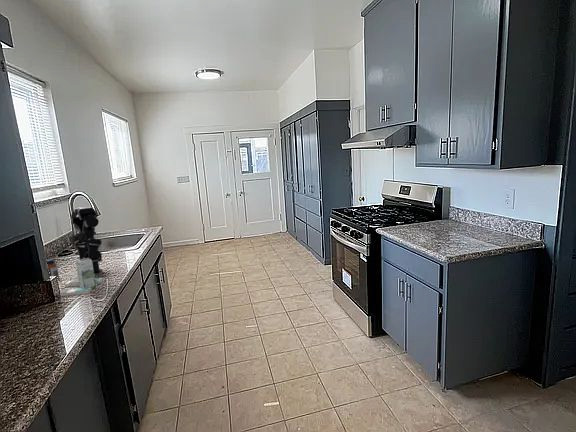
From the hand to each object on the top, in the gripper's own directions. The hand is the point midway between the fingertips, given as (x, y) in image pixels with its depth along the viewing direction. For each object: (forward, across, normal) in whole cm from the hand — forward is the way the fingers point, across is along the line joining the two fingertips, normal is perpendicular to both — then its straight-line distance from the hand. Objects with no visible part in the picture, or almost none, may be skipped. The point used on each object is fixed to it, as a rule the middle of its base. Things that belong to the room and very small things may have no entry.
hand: (85, 259), depth 177 cm
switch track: (+15, +2, -3) cm, 16 cm away
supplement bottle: (+10, -27, -4) cm, 29 cm away
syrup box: (+15, +6, 0) cm, 16 cm away
